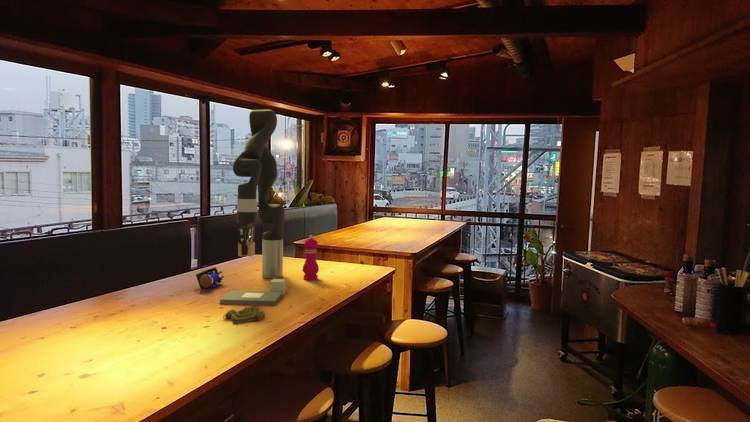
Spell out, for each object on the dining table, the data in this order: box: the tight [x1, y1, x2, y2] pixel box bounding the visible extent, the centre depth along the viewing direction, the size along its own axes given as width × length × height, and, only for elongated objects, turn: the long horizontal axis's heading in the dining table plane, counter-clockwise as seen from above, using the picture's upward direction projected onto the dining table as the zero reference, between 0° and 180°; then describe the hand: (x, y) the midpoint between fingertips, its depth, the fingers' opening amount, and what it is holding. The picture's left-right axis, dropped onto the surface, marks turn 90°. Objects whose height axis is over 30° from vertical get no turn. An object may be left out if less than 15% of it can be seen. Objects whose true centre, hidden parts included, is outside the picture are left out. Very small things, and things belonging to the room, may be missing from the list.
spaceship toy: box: [222, 305, 266, 325], centre depth 164 cm, size 12×18×4 cm
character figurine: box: [195, 267, 225, 291], centre depth 202 cm, size 8×7×15 cm
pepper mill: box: [302, 234, 320, 281], centre depth 221 cm, size 7×7×20 cm
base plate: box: [219, 289, 284, 306], centre depth 185 cm, size 14×20×2 cm
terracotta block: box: [237, 241, 256, 257], centre depth 191 cm, size 5×5×5 cm
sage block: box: [269, 278, 287, 295], centre depth 196 cm, size 5×5×5 cm
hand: (246, 253), depth 191 cm, fingers closed on terracotta block, 5 cm apart
